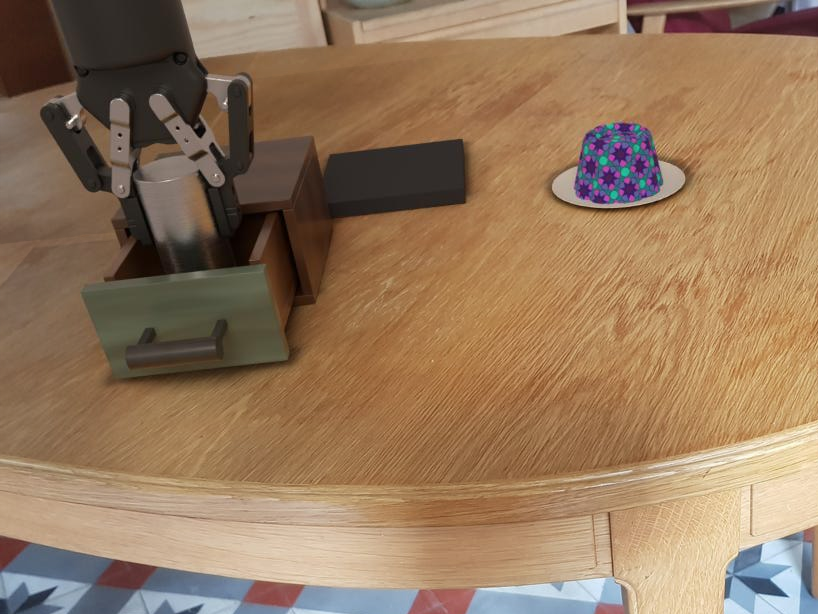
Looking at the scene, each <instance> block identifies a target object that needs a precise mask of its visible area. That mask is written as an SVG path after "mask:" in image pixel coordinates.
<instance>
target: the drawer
mask: <svg viewBox="0 0 818 614" xmlns="http://www.w3.org/2000/svg"><path fill="white" fill-rule="evenodd" d="M229 241H230V244H231V248H232V251H233V255H234V258H235V262H236V265H237V267H232V268H224V269H215V270H206V271H197V272H189V273H180V274H171V275H166V274H165V271H164V268H163V265H162V262H161V259H160V256H159V253H158V250H157V247H156V246H154V247H144V246H143V244H142V241H141V240H136V239H135V238H134V237H133V236H132V234H131V235H130V237H129V238H128V240H127V241H126V243H125V244H124V246H123V247H122V249H121V248H120V250H119V251H118V254H116V256H115V258H114V259H113V261H112V263H111V264H110V265H109V267H108V269H107V270H106V272H105V273H104V274H103V276H102V279H103V281H102V282H101V281H100V282H93V283H86V284H84V285H83V287H82V289H81V290H80V295H81V298H82V300H83V303H84V305H85V307H86V310H87V312H88V315H89V318H90V321H91V322H92V325H93V327H94V330H95V333H96V334H97V337H98V340H99V342H100V345H101V347H102V349H103V352H104V354H105V357H106V359H107V362H108V364H109V367H110V370H111V372H112V374H113V377H114V379H115V380H119V379H128V378H136V377H146V376H155V375H165V374H173V373H174V374H175V373H183V372H191V371H200V370H210V369H219V368H227V367H228V368H229V367H237V366H246V365H255V364H265V363H275V362H283V361H288V360H289V356H290V352H291V351H290V348H289V343H288V340H287V336H286V333H285V330H286V326H287V323H288V319H289V315H290V312H291V309H292V306H291V305H292V302H293V299H294V295H295V292H296V288H297V285H298V281H299V275H298V271H297V267H296V263H295V259H294V255H293V251H292V247H291V243H290V239H289V235H288V231H287V227H286V223H285V219H284V215H283V210H277V211H268V212H260V213H251V214H243V215H242V220H241V223H240V225H239V227H238V228H237V230H236V232H235V234H234V237H230V238H229Z"/></svg>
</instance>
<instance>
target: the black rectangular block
mask: <svg viewBox="0 0 818 614" xmlns="http://www.w3.org/2000/svg"><path fill="white" fill-rule="evenodd" d="M465 165H466V164H465V147H464V139H463V138H454V139H445V140H438V141H428V142H420V143H414V144H413V143H412V144H403V145H397V146H388V147H380V148H378V147H377V148H371V149H362V150H353V151H346V152H338V153H330V154H329V156H328V159H327V162H326V165H325V168H324V172H323V174H322V178H323V183H324V188H325V192H326V197H327V202H328V206H329V211H330V215H331V219H337V218H338V219H339V218H349V217H357V216H364V215H373V214H374V215H375V214H382V213H390V212H398V211H408V210H416V209H425V208H433V207H434V208H435V207H443V206H451V205H461V204H466V202H467V201H466V200H467V197H466V195H467V194H466V167H465Z"/></svg>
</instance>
